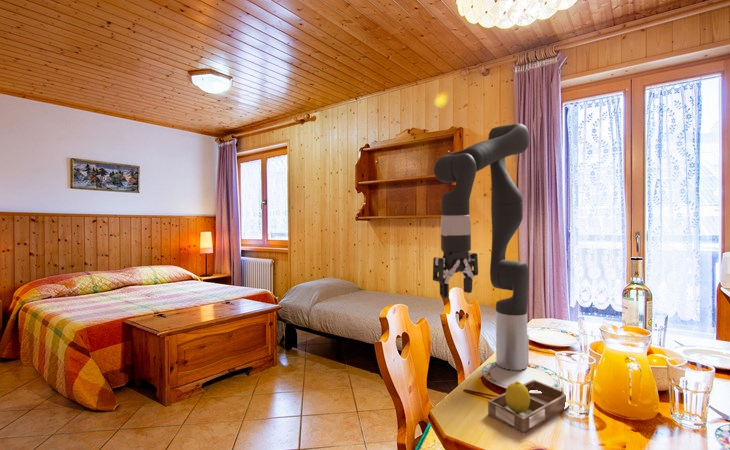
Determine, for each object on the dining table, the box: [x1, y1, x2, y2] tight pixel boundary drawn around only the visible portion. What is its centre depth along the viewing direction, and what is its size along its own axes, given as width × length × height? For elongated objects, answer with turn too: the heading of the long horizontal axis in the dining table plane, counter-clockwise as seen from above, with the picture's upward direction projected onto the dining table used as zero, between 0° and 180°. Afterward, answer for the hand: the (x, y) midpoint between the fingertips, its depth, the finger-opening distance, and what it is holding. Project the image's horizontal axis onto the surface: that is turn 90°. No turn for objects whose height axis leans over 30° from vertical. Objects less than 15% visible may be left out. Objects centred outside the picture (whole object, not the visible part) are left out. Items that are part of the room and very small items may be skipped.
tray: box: [487, 379, 566, 435], centre depth 94 cm, size 19×10×4 cm, turn 124°
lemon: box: [505, 380, 530, 414], centre depth 91 cm, size 6×6×8 cm
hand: (456, 295), depth 99 cm, fingers open, 8 cm apart
